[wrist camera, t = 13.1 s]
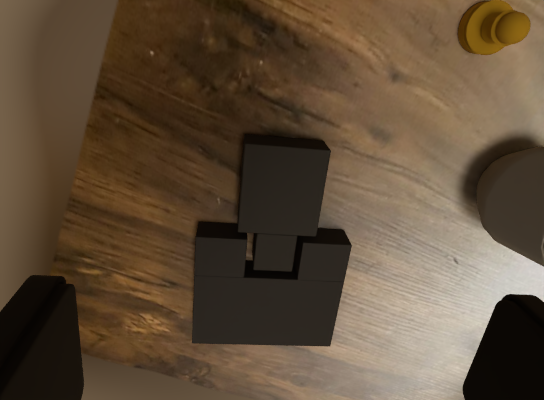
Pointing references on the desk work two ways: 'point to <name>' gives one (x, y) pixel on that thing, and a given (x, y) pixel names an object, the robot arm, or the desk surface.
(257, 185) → the black pad
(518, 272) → the desk surface
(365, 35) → the desk surface
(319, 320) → the base pad
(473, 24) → the chess piece
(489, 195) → the cup
